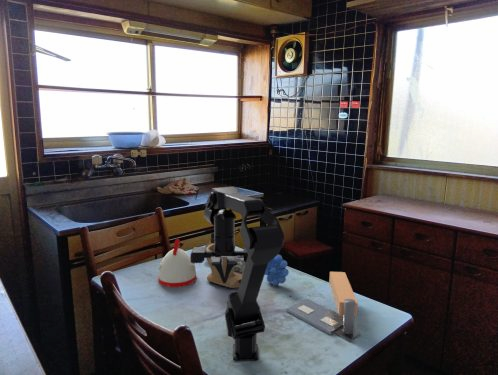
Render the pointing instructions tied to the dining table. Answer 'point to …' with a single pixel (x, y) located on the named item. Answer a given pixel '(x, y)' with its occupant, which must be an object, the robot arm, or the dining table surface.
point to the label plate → (317, 316)
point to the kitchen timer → (176, 268)
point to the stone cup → (233, 278)
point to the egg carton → (239, 265)
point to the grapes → (276, 270)
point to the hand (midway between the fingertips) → (224, 282)
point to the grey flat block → (347, 335)
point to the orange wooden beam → (344, 299)
